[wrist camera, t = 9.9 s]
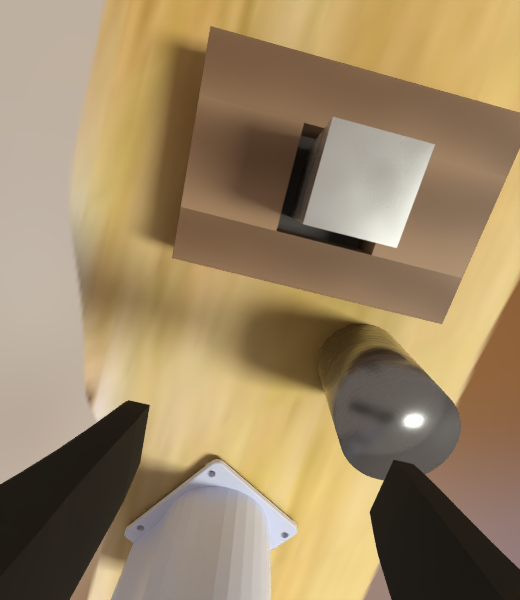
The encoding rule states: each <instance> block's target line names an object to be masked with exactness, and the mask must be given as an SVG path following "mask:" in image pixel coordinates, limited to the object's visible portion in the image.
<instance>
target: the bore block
mask: <svg viewBox="0 0 520 600" xmlns="http://www.w3.org/2000/svg"><path fill="white" fill-rule="evenodd" d="M332 117H336V118H340V119H344V120H347V121H351V122H355V123H358V124H362V125H366V126H369V127H373V128H377V129H380V130H384V131H388V132H391V133H395V134H399V135H402V136H406V137H410V138H413V139H417V140H421V141H424V142H428V143H432V144H435V146H434V149H433V151H432V154H431V157H430V159H429V162H428V165H427V168H426V170H425V173H424V176H423V178H422V181H421V184H420V187H419V189H418V192H417V195H416V197H415V200H414V203H413V205H412V208H411V211H410V214H409V216H408V219H407V222H406V224H405V227H404V230H403V232H402V235H401V238H400V241H399V243H398V246H397V248H394V247H390V246H386V245H383V244H379V243H375V242H371V241H367V240H363V239H359V238H355V237H351V236H347V235H343V234H339V233H336V232H332V231H328V230H324V229H320V228H316V227H312V226H308V225H304V224H302V223H300V222H298V221H297V220H295V219H293V218H291V214H292V210H293V206H294V203H295V199H296V195H297V191H298V188H299V184H300V180H301V176H302V173H303V169H304V165H305V161H306V157H307V154H308V150H309V148H310V147H311V146H312V144H313V143H314V142H315V140H316V139H317V138H318V136H319V135H320V133H321V132H322V131H323V129H324V128H325V127H326V125H327V124H328V123H329V121H330V120H331V118H332ZM519 149H520V113H519V112H515V111H512V110H508V109H504V108H501V107H497V106H494V105H490V104H487V103H483V102H479V101H476V100H472V99H469V98H465V97H462V96H458V95H454V94H451V93H447V92H444V91H440V90H437V89H433V88H429V87H426V86H422V85H419V84H415V83H412V82H408V81H404V80H401V79H397V78H394V77H390V76H387V75H383V74H379V73H376V72H372V71H369V70H365V69H362V68H358V67H354V66H351V65H347V64H344V63H340V62H337V61H333V60H329V59H326V58H322V57H319V56H315V55H312V54H308V53H304V52H301V51H297V50H294V49H290V48H287V47H283V46H279V45H276V44H272V43H269V42H265V41H262V40H258V39H254V38H251V37H247V36H244V35H240V34H237V33H233V32H229V31H226V30H222V29H219V28H215V27H212V26H211V27H210V33H209V39H208V45H207V51H206V57H205V63H204V69H203V75H202V81H201V87H200V93H199V99H198V105H197V111H196V117H195V123H194V129H193V135H192V141H191V147H190V153H189V159H188V166H187V172H186V178H185V184H184V190H183V196H182V202H181V208H180V214H179V220H178V226H177V232H176V238H175V244H174V250H173V256H172V258H174V259H179V260H183V261H187V262H191V263H195V264H199V265H203V266H207V267H211V268H215V269H219V270H223V271H227V272H232V273H236V274H240V275H244V276H248V277H252V278H256V279H260V280H264V281H268V282H272V283H276V284H280V285H285V286H289V287H293V288H297V289H301V290H305V291H309V292H313V293H317V294H321V295H325V296H329V297H333V298H337V299H342V300H346V301H350V302H354V303H358V304H362V305H366V306H370V307H374V308H378V309H382V310H386V311H390V312H395V313H399V314H403V315H407V316H411V317H415V318H419V319H423V320H427V321H431V322H435V323H439V324H442V323H443V321H444V318H445V316H446V314H447V312H448V309H449V307H450V305H451V303H452V300H453V298H454V296H455V294H456V291H457V289H458V287H459V284H460V282H461V280H462V278H463V275H464V273H465V271H466V269H467V266H468V264H469V262H470V260H471V257H472V255H473V253H474V251H475V248H476V246H477V244H478V241H479V239H480V237H481V235H482V232H483V230H484V228H485V226H486V223H487V221H488V219H489V217H490V214H491V212H492V210H493V208H494V205H495V203H496V201H497V198H498V196H499V194H500V192H501V189H502V187H503V185H504V183H505V180H506V178H507V176H508V174H509V171H510V169H511V167H512V164H513V162H514V160H515V158H516V155H517V153H518V151H519Z"/></svg>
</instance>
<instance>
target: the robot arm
mask: <svg viewBox="0 0 520 600" xmlns="http://www.w3.org/2000/svg"><path fill="white" fill-rule="evenodd" d="M149 406H150V405H147V404H143V403H138V402H134V401H129V400H128V401H126V402H125V403H123V404H122V405H120V406H119V407H118V408H116V409H115V410H113V411H112V412H111V413H109V414H108V415H107V416H105V417H104V418H102V419H101V420H100V421H98V422H97V423H96V424H94V425H93V426H91V427H90V428H88V429H87V430H86V431H84V432H83V433H81V434H80V435H78V436H77V437H75V438H74V439H72V440H71V441H69V442H68V443H66V444H65V445H63V446H62V447H61V448H59V449H57V450H56V451H54V452H53V453H51V454H50V455H48V456H46V457H45V458H43V459H42V460H40V461H39V462H37V463H35V464H34V465H32V466H30V467H29V468H27V469H25V470H24V471H23V472H21V473H19V474H17V475H16V476H14V477H12V478H10V479H9V480H7V481H5V482H4V483H2V484H0V600H70V598H71V596H72V594H73V592H74V590H75V589H76V587H77V585H78V583H79V581H80V580H81V578H82V576H83V574H84V572H85V571H86V569H87V567H88V565H89V563H90V561H91V560H92V558H93V556H94V554H95V552H96V551H97V549H98V547H99V545H100V543H101V541H102V540H103V538H104V536H105V534H106V532H107V531H108V529H109V527H110V525H111V523H112V521H113V520H114V518H115V516H116V514H117V512H118V510H119V509H120V507H121V505H122V503H123V501H124V499H125V497H126V494H127V492H128V490H129V488H130V485H131V483H132V481H133V478H134V476H135V473H136V471H137V469H138V466H139V464H140V460H141V454H142V448H143V442H144V436H145V430H146V424H147V418H148V412H149ZM210 470H211V471H214V472H210ZM370 516H371V522H372V527H373V533H374V538H375V543H376V548H377V552H378V556H379V560H380V563H381V566H382V570H383V573H384V576H385V580H386V583H387V586H388V589H389V593H390V596H391V599H392V600H520V569H519V568H518V567H517V566H515V564H514V563H512V562H511V561H510V560H509V559H508V558H507V557H506V556H505V555H504V554H503V553H502V552H501V551H500V550H499V549H498V548H497V547H496V546H495V545H494V544H493V543H492V542H491V541H490V540H489V539H488V538H487V537H486V536H485V535H484V534H483V533H482V532H481V531H480V530H479V529H478V528H477V527H476V526H475V525H474V524H473V523H472V522H471V521H470V520H469V519H468V518H467V517H466V516H465V515H464V514H463V513H462V512H461V511H460V510H459V509H458V508H457V507H456V506H455V505H454V503H452V502H451V500H450V499H449V498H448V497H447V496H446V495H445V494H444V493H443V492H442V491H441V490H440V489H439V488H438V487H437V486H436V485H435V484H434V483H433V482H432V481H431V480H430V479H429V478H428V477H427V476H426V475H425V474H424V473H423V472H422V471H421V470H419V469H418V468H417V467H416V466H415V465H414V464H411V463H406V462H402V461H397V460H393V462H392V464H391V466H390V469H389V471H388V473H387V475H386V477H385V480H384V482H383V484H382V486H381V488H380V491H379V493H378V495H377V497H376V499H375V502H374V504H373V506H372V508H371V510H370ZM296 533H297V525H296V523H295V522H294V521H292V520H291V519H290V518H289V517H288V516H287V515H285V514H284V513H283V512H282V511H281V510H280V509H278V508H277V507H276V506H275V505H274V504H273V503H271V502H270V501H269V500H268V499H267V498H266V497H264V496H263V495H262V494H261V493H260V492H259V491H257V490H256V489H255V488H254V487H253V486H252V485H250V484H249V483H248V482H247V481H246V480H245V479H243V478H242V477H241V476H240V475H239V474H238V473H236V472H235V471H234V470H233V469H232V468H231V467H229V466H228V465H227V464H226V463H225V462H224V461H222V460H220V459H214V460H212V461H211V462H210V463H208V464H207V465H206V466H205V467H203V468H202V469H201V470H199V471H198V472H197V473H196V474H194V475H193V476H192V477H190V478H189V479H188V480H187V481H185V482H184V483H183V484H181V485H180V486H179V487H178V488H176V489H175V490H174V491H172V492H171V493H170V494H169V495H167V496H166V497H165V498H163V499H162V500H161V501H160V502H158V503H157V504H156V505H155V506H153V507H152V508H151V509H149V510H148V511H147V512H146V513H144V514H143V515H142V516H140V517H139V518H138V519H137V520H135V521H134V522H133V523H131V524H130V525H129V526H128V527H127V528H126V530H125V532H124V535H125V537H126V538H127V539H128V540H130V541H131V542H132V543H133V545H132V548H131V550H130V553H129V555H128V558H127V560H126V563H125V565H124V568H123V570H122V573H121V575H120V578H119V580H118V583H117V585H116V588H115V590H114V593H113V595H112V598H111V600H271V567H270V551H271V550H273V549H274V548H276V547H277V546H279V545H280V544H282V543H284V542H285V541H287V540H288V539H290V538H291V537H293V536H294V535H295V534H296Z"/></svg>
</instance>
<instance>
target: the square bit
mask: <svg viewBox="0 0 520 600" xmlns="http://www.w3.org/2000/svg"><path fill="white" fill-rule="evenodd" d="M434 146H435V144H432V143H428V142H424V141H421V140H417V139H413V138H410V137H406V136H402V135H399V134H395V133H391V132H388V131H384V130H380V129H377V128H373V127H369V126H366V125H362V124H358V123H355V122H351V121H347V120H344V119H340V118H336V117H332V118H331V120H330V121H329V123H328V124H327V125H326V127H325V128H324V129H323V131H322V132H321V133H320V135H319V136H318V138H317V139H316V140H315V142H314V143H313V144H312V146H311V147H310V148H309V150H308V154H307V157H306V161H305V165H304V169H303V173H302V176H301V180H300V184H299V188H298V191H297V195H296V199H295V203H294V206H293V210H292V214H291V218H293V219H295V220H297V221H298V222H300V223H302V224H304V225H308V226H312V227H316V228H320V229H324V230H328V231H332V232H336V233H339V234H343V235H347V236H351V237H355V238H359V239H363V240H367V241H371V242H375V243H379V244H383V245H386V246H390V247H394V248H397V246H398V243H399V241H400V238H401V235H402V232H403V230H404V227H405V224H406V222H407V219H408V216H409V214H410V211H411V208H412V205H413V203H414V200H415V197H416V195H417V192H418V189H419V187H420V184H421V181H422V178H423V176H424V173H425V170H426V168H427V165H428V162H429V159H430V157H431V154H432V151H433V149H434Z"/></svg>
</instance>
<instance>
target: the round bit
mask: <svg viewBox="0 0 520 600" xmlns="http://www.w3.org/2000/svg"><path fill="white" fill-rule="evenodd" d="M318 372H319V375H320V379H321V382H322V385H323V389H324V392H325V395H326V399H327V402H328V405H329V409H330V412H331V415H332V419H333V422H334V425H335V429H336V432H337V435H338V439H339V442H340V445H341V448H342V451H343V453H344V455H345V457H346V459H347V460H348V461H349V463H350V464H351V465H352V466H353V467H354V468H356V469H357V470H358V471H360V472H361V473H363V474H365V475H367V476H370V477H372V478H376V479H380V480H385V477H386V475H387V473H388V471H389V469H390V466H391V464H392V462H393V460H397V461H402V462H406V463H411V464H414V465H415V466H416V467H417V468H418V469H419V470H421V471H422V472H423V473H424V474H426V473H428V472H430V471H432V470H434V469H435V468H437V467H438V466H439V465H440V464H442V463H443V462H444V461H445V460H446V459H447V458H448V457H449V456H450V454H451V453H452V451H453V450H454V448H455V446H456V444H457V442H458V439H459V436H460V430H461V423H460V422H461V421H460V416H459V413H458V410H457V408H456V406H455V405H454V403H453V402H452V400H451V399H450V398H449V397H448V396H447V395H446V394H445V393H444V392H443V390H442V389H441V388H440V387H439V386H438V385H437V384H436V383H435V382H434V381H433V380H432V379H431V378H430V377H429V375H428V374H427V373H426V372H425V371H424V370H423V369H422V368H421V367H420V366H419V365H418V364H417V363H416V362H415V361H414V359H413V358H412V357H411V356H410V355H409V354H408V353H407V352H406V351H405V350H404V349H403V348H402V347H401V346H400V344H399V343H398V342H397V341H396V340H395V339H394V338H393V337H392V336H391V335H390V334H389V333H388V332H386V331H385V330H383V329H381V328H379V327H376V326H372V325H365V324H360V325H352V326H349V327H345V328H343V329H341V330H339V331H337V332H336V333H334V334H333V335H332V336H331V337H330V338H329V339H328V340H327V341H326V342H325V344H324V345H323V347H322V348H321V351H320V353H319V357H318Z"/></svg>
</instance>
